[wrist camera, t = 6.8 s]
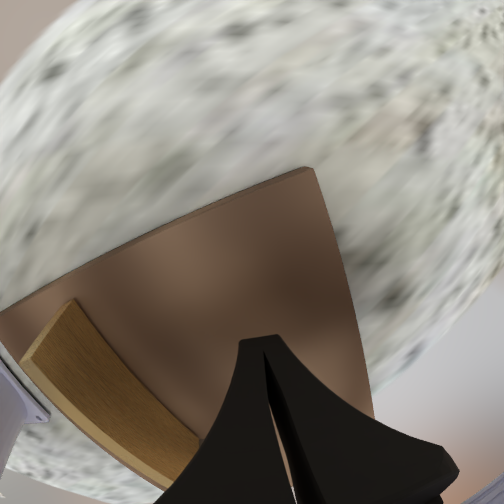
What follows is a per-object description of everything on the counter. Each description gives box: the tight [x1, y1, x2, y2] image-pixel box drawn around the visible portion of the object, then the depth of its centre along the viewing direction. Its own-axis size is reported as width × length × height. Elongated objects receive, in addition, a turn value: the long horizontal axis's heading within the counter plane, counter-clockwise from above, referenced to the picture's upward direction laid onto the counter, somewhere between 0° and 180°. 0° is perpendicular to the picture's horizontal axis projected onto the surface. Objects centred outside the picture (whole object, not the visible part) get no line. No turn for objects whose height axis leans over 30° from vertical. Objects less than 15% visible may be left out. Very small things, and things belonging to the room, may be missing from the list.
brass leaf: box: [19, 299, 199, 488], centre depth 10 cm, size 12×2×4 cm, turn 24°
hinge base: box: [0, 166, 375, 492], centre depth 12 cm, size 17×23×5 cm
